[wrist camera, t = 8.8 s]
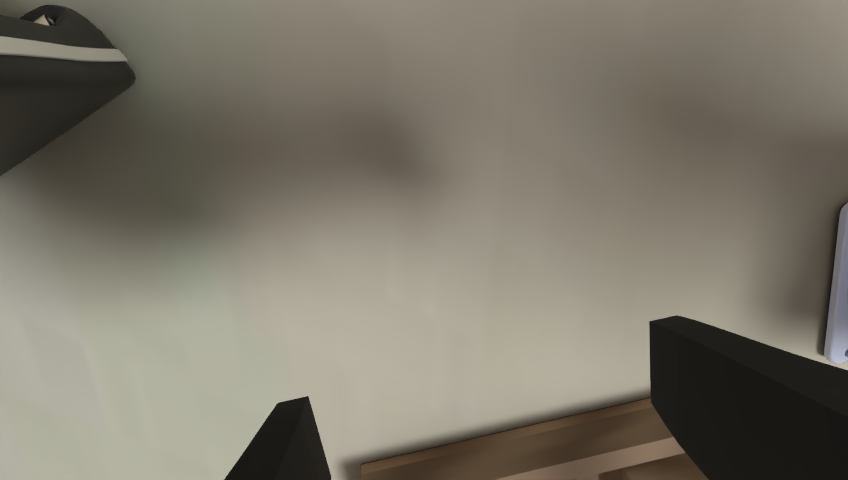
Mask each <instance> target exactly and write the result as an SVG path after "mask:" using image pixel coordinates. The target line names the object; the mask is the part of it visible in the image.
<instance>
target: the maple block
mask: <svg viewBox="0 0 848 480" xmlns="http://www.w3.org/2000/svg"><path fill="white" fill-rule="evenodd" d="M621 471H622V480H709V479H708V478H707V477H706V476H705V475H704V474H703V472H702V471H701V470H700V469H699V468H698V467H697V465H696V464H695V463H694V462H693V461H692V460H691V458H690V457H689V456H688V455H687V454H686V453H683V454H678V455H674V456H670V457H666V458H662V459H658V460H653V461H649V462H645V463H641V464H637V465H633V466H628V467H624V468H621Z"/></svg>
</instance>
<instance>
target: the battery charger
mask: <svg viewBox="0 0 848 480" xmlns="http://www.w3.org/2000/svg"><path fill="white" fill-rule="evenodd" d="M127 62H128V60H127V59H126V57H125V56H124V55H123V54H122V52H121V51H120V50H119V49H115V48H114V47H113V46H112V44H111V43H110V42H109V41H108V39H107V38H106V37H105V36H104V34H103V33H102V32H101V31H100V30H98V29H97V28H96V27H95V26H94V25H93V24H92V23H91V22H89V21H88V20H87V19H86V18H84V17H83V16H81V15H80V14H78V13H76V12H75V11H73V10H71V9H68V8H66V7H61V6H55V5H45V6H41V7H39V8H37V9H35V10H33V11H31V12H29V13H27V14H25V15H24V16H22V17H21V18H20V19H17V18H12V17H7V16H2V15H0V176H1V175H2V174H4V173H5V172H7V171H8V170H10V169H11V168H13V167H14V166H16V165H17V164H19V163H20V162H22V161H23V160H25V159H26V158H28V157H29V156H31V155H32V154H33V153H35V152H36V151H38V150H39V149H41V148H42V147H44V146H45V145H47V144H48V143H50V142H51V141H53V140H54V139H55V138H57V137H58V136H60V135H61V134H63V133H64V132H66V131H67V130H69V129H70V128H72V127H73V126H74V125H76V124H77V123H79V122H80V121H82V120H83V119H85V118H86V117H88V116H89V115H90V114H92V113H93V112H95V111H96V110H98V109H99V108H101V107H102V106H103V105H105V104H106V103H108V102H109V101H111V100H112V99H114V98H115V97H116V96H118V95H119V94H121V93H122V92H124V91H125V90H126V89H128V88H129V87H131V86H132V85H133V84H134V82H135V74H134V73H133V71H132V69H131V68H130V67H129V66H128V64H127Z"/></svg>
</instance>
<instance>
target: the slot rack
mask: <svg viewBox="0 0 848 480" xmlns="http://www.w3.org/2000/svg"><path fill="white" fill-rule="evenodd" d="M683 453H686V452H685V451H684V450H683V449H682V448H681V446H680V445H679V444H678V443H677V441H676V440H675V438H674V437H673V435H672V434H671V432H670V431H669V430H668V428H667V427H666V425H665V424H664V422H663V421H662V419H661V417H660V416H659V414H658V413H657V411H656V410H655V408H654V406H653V405H652V403H651V398H648V399H644V400H639V401H635V402H631V403H626V404H622V405H618V406H613V407H609V408H605V409H600V410H596V411H592V412H587V413H583V414H579V415H574V416H570V417H566V418H561V419H557V420H553V421H548V422H544V423H540V424H535V425H531V426H527V427H522V428H518V429H514V430H509V431H505V432H501V433H496V434H492V435H488V436H483V437H479V438H475V439H470V440H466V441H462V442H457V443H453V444H449V445H444V446H440V447H436V448H431V449H427V450H423V451H418V452H414V453H410V454H405V455H401V456H397V457H392V458H388V459H384V460H379V461H375V462H371V463H366V464H362V465H361V480H622V471H621V468H624V467H628V466H633V465H637V464H641V463H645V462H649V461H653V460H658V459H662V458H666V457H670V456H674V455H678V454H683Z"/></svg>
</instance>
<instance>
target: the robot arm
mask: <svg viewBox="0 0 848 480" xmlns="http://www.w3.org/2000/svg"><path fill="white" fill-rule="evenodd" d="M824 356H825V358H826V359H828V360H829V361H831V362H833V363H840V362H844V361H848V203H847V204H845V205H844V206H843V208H842V209H841V212H840V217H839V226H838V235H837V244H836V252H835V261H834V270H833V279H832V288H831V296H830V305H829V314H828V323H827V331H826V340H825V349H824ZM650 381H651V403H652V405H653V406H654V408H655V410H656V411H657V413H658V414H659V416H660V417H661V419H662V421H663V422H664V424H665V425H666V427H667V428H668V430H669V431H670V432H671V434H672V435H673V437H674V438H675V440H676V441H677V443H678V444H679V445H680V446H681V448H682V449H683V450H684V451H685V452H686V454H687V455H688V456H689V457H690V458H691V460H692V461H693V462H694V463H695V464H696V465H697V467H698V468H699V469H700V470H701V471H702V472H703V474H704V475H705V476H706V477H707V478H708V479H709V480H848V370H844V369H841V368H838V367H834V366H831V365H828V364H824V363H821V362H818V361H814V360H811V359H808V358H805V357H802V356H799V355H796V354H793V353H790V352H787V351H784V350H781V349H778V348H775V347H772V346H769V345H766V344H763V343H760V342H757V341H754V340H751V339H749V338H746V337H743V336H740V335H737V334H734V333H731V332H728V331H726V330H723V329H720V328H717V327H714V326H711V325H708V324H705V323H702V322H699V321H695V320H692V319H689V318H685V317H681V316H672V317H668V318H663V319H659V320H654V321H650ZM224 480H331V475H330V471H329V468H328V464H327V461H326V457H325V454H324V450H323V446H322V443H321V439H320V436H319V432H318V429H317V425H316V422H315V418H314V415H313V411H312V408H311V404H310V401H309V397H308V396H307V397H303V398H298V399H294V400H289V401H285V402H280V403H278V404H277V405H276V406H275V408H274V409H273V411H272V412H271V413H270V415H269V416H268V418H267V419H266V421H265V422H264V423H263V425H262V426H261V428H260V429H259V431H258V432H257V434H256V435H255V437H254V438H253V440H252V441H251V443H250V444H249V445H248V447H247V448H246V450H245V451H244V453H243V454H242V456H241V457H240V458H239V460H238V461H237V463H236V464H235V465H234V467H233V468H232V470H231V471H230V472H229V474H228V475H227V476H226V478H225V479H224Z"/></svg>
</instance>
